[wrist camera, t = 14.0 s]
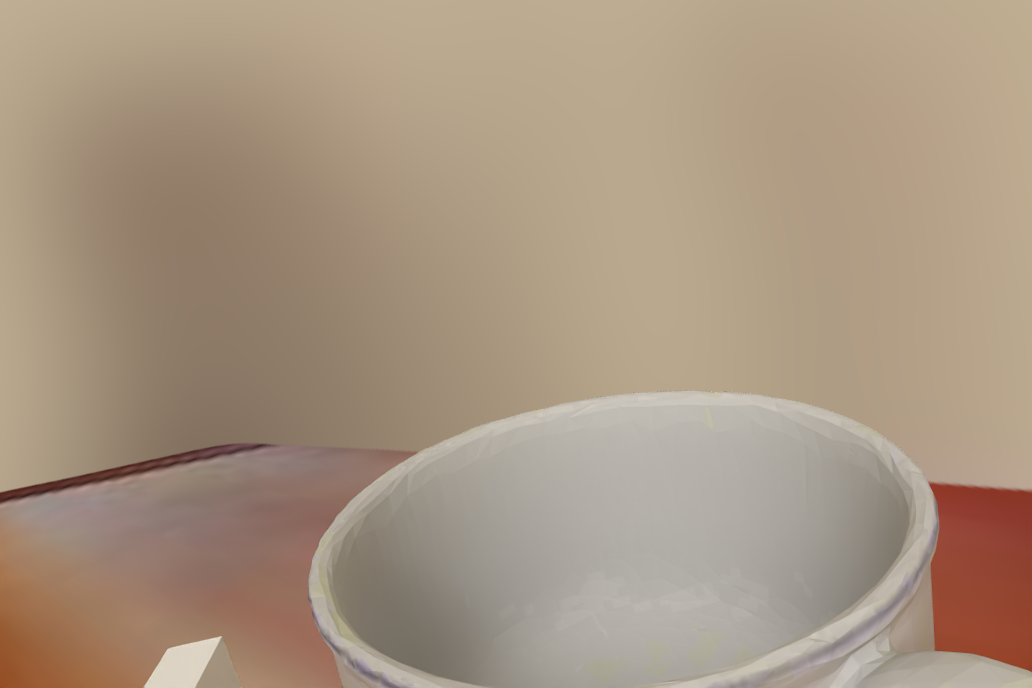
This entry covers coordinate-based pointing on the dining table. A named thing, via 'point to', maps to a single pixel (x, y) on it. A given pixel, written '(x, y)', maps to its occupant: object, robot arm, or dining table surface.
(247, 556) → the dining table surface
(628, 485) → the teacup
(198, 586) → the dining table surface
